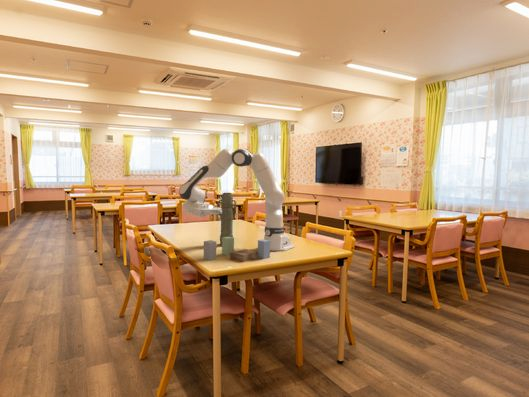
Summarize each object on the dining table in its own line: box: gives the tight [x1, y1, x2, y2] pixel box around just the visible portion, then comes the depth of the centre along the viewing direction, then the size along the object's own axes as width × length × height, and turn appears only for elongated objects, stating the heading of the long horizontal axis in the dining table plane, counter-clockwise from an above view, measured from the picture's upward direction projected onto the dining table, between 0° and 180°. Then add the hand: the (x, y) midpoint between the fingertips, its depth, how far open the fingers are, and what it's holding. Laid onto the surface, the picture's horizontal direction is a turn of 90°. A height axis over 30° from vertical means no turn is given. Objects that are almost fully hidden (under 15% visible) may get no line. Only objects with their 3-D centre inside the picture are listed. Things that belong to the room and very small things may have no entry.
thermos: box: [217, 192, 237, 247], centre depth 232 cm, size 9×12×35 cm
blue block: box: [257, 238, 271, 260], centre depth 200 cm, size 5×5×10 cm
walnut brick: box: [229, 248, 259, 263], centre depth 197 cm, size 12×10×4 cm
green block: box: [221, 236, 235, 256], centre depth 206 cm, size 5×5×10 cm
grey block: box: [203, 239, 217, 261], centre depth 194 cm, size 5×5×10 cm
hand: (215, 212), depth 212 cm, fingers open, 8 cm apart
